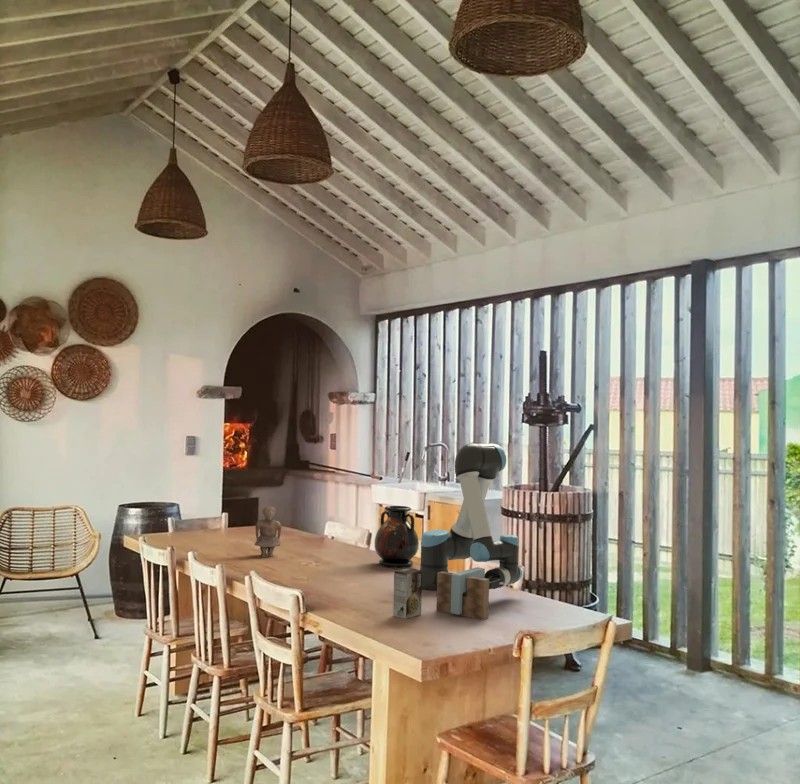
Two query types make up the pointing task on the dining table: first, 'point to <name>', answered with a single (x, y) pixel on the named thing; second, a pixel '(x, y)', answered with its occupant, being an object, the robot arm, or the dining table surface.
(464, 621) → the dining table surface
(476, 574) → the light blue block
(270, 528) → the clay figurine
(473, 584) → the u-shaped checkered block
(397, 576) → the coffee box
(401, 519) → the amphora vase
